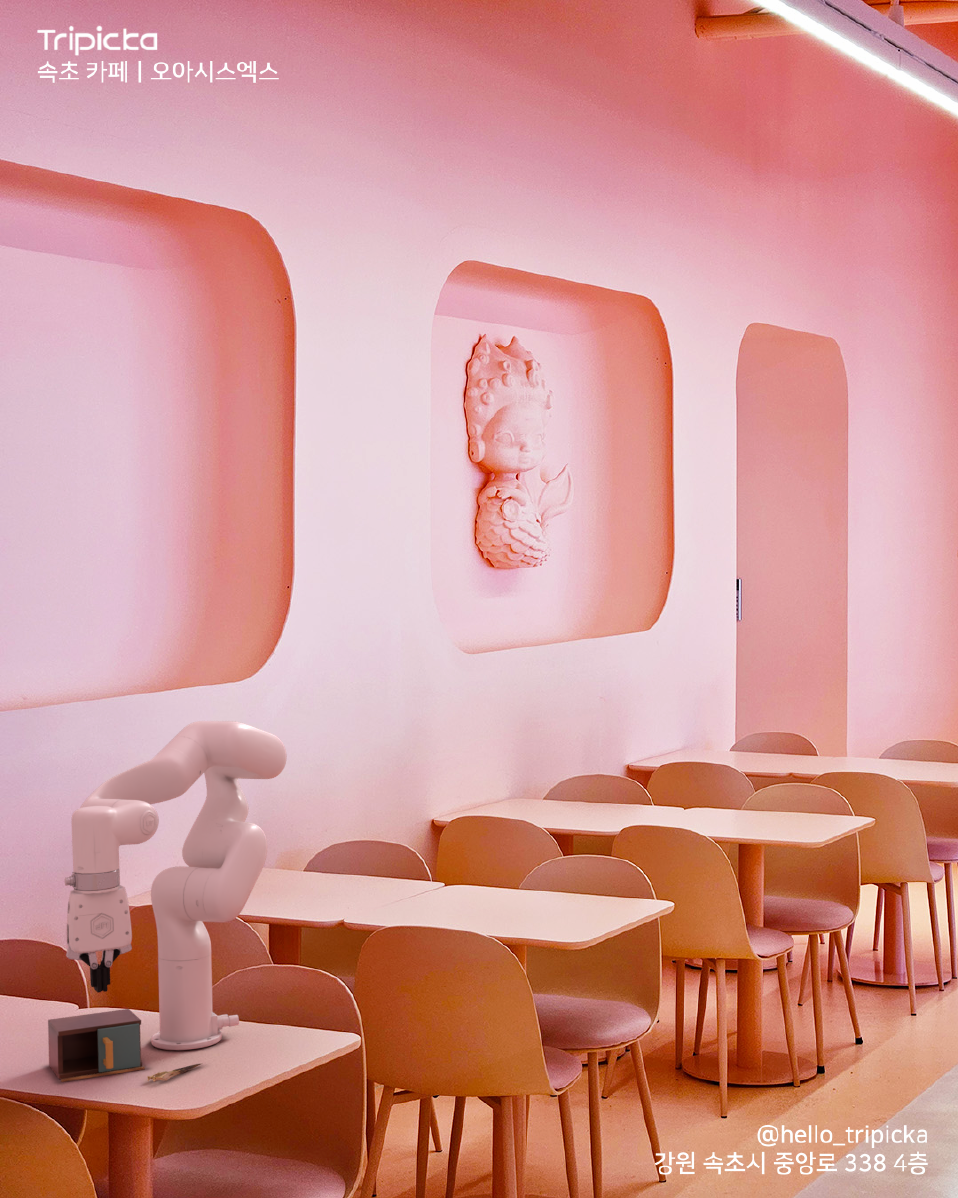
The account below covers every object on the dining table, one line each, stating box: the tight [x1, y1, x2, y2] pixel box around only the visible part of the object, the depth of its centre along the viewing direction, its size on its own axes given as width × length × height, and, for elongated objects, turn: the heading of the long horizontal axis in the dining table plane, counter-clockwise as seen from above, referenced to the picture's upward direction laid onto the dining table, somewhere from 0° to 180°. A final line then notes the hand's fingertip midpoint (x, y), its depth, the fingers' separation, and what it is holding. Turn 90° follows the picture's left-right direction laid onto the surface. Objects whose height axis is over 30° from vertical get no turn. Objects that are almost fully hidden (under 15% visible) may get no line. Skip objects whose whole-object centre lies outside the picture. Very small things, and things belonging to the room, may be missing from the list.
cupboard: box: [47, 1008, 146, 1083], centre depth 263 cm, size 14×11×8 cm
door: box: [98, 1024, 141, 1073], centre depth 259 cm, size 7×4×7 cm, turn 116°
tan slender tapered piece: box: [146, 1062, 203, 1083], centre depth 257 cm, size 12×3×1 cm, turn 143°
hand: (100, 990), depth 256 cm, fingers closed
